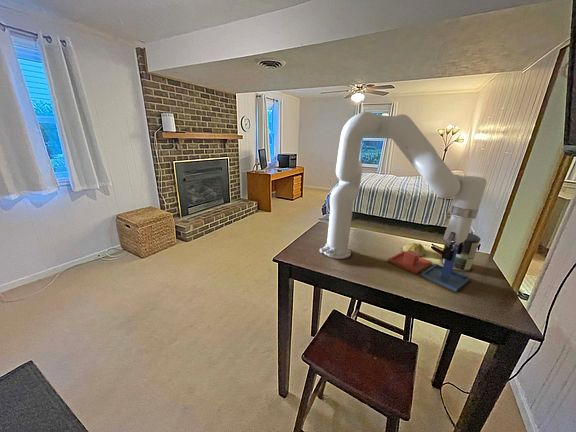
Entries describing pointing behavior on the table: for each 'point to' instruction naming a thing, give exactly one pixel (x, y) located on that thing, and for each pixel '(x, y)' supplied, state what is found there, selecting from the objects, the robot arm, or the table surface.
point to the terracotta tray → (416, 268)
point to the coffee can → (466, 253)
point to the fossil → (415, 248)
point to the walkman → (449, 264)
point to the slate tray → (452, 283)
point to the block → (411, 257)
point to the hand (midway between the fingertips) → (451, 256)
